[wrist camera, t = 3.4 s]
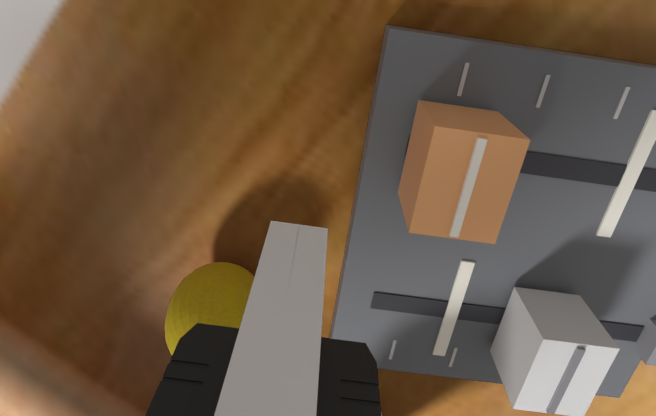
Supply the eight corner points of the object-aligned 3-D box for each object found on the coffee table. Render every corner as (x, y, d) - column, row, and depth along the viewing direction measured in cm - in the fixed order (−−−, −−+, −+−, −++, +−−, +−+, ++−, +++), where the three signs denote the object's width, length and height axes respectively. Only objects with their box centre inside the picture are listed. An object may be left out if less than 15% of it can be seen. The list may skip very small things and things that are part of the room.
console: (328, 341, 33) (327, 378, 30) (385, 24, 24) (392, 31, 21) (606, 375, 34) (632, 415, 31) (763, 81, 25) (822, 96, 22)
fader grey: (489, 350, 30) (514, 411, 26) (514, 286, 28) (544, 342, 24) (551, 358, 30) (584, 420, 26) (580, 295, 28) (622, 351, 24)
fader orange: (397, 191, 26) (409, 234, 21) (418, 99, 23) (435, 127, 19) (470, 201, 26) (496, 246, 22) (497, 111, 24) (532, 141, 19)
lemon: (279, 306, 32) (262, 402, 25) (199, 312, 33) (159, 408, 25) (267, 235, 30) (243, 319, 23) (180, 241, 30) (130, 326, 23)
